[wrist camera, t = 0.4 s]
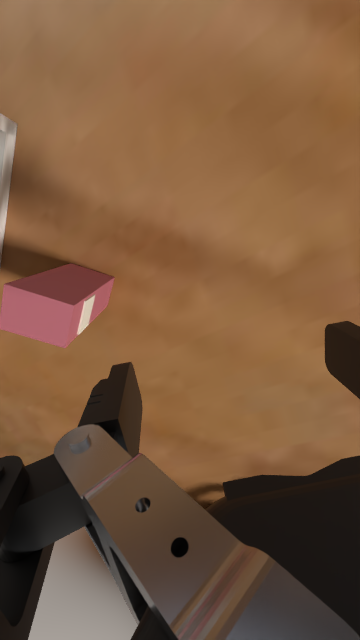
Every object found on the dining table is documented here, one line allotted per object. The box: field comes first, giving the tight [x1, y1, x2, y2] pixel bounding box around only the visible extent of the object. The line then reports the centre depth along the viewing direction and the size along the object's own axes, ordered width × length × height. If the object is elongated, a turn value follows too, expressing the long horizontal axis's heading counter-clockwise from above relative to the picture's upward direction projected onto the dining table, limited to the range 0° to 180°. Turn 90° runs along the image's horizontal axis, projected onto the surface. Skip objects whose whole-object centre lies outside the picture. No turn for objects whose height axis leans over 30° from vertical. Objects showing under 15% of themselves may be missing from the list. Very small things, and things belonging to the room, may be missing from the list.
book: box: [0, 263, 115, 348], centre depth 26 cm, size 4×5×12 cm
